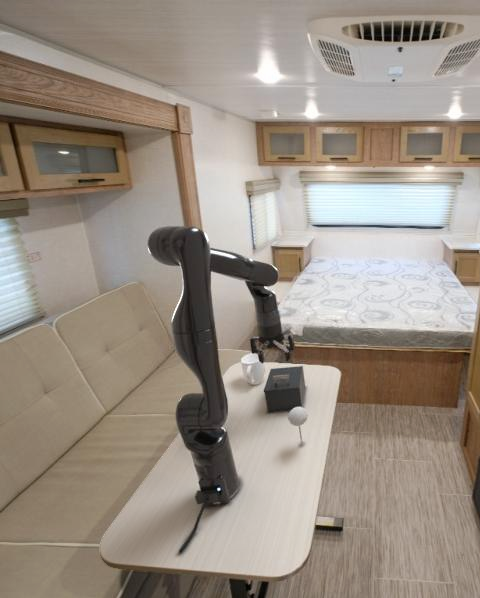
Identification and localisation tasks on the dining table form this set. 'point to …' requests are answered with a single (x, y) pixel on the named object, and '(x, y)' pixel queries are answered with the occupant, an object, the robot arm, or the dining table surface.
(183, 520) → the dining table surface
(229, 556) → the dining table surface
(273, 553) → the dining table surface
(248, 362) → the mug
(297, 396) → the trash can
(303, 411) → the lollipop
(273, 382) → the bin lid
